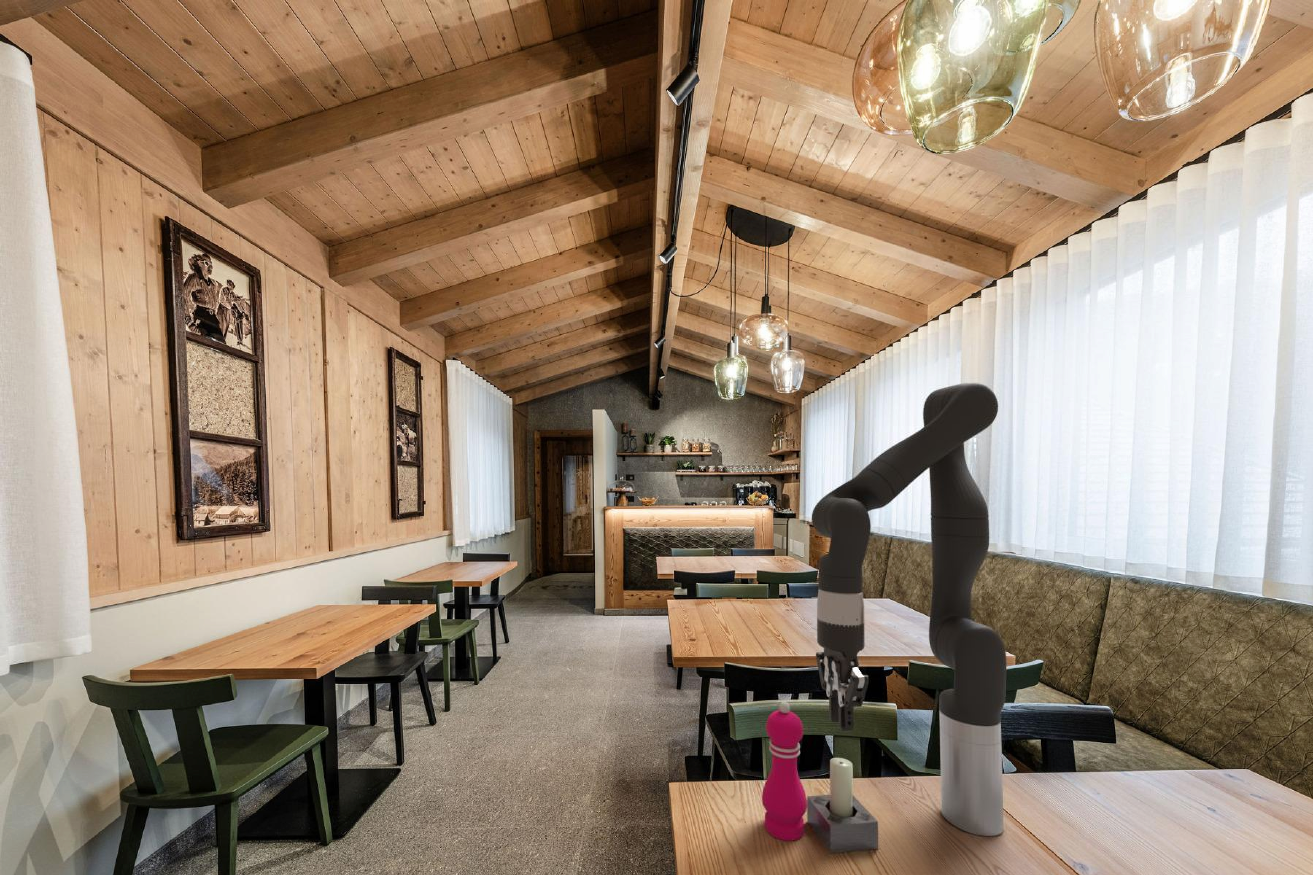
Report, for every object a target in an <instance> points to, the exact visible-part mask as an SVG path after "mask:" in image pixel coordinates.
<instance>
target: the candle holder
mask: <svg viewBox="0 0 1313 875" xmlns="http://www.w3.org/2000/svg"><path fill="white" fill-rule="evenodd" d="M806 799H807V810H806V813H807V815H806V819H807V820H806V822H807V821H808V822H807V823H808V825H809V824H810V825H809V826H810V827H811V829H812V828H813V829H814V830H813V829H812V830H813V832H814V833H815V834H816V836H817V835H818V836H819V837H818V836H817V837H818V838H819V840H820V839H821V840H820V841H821V842H822V844H823V845H824V846H825V848H826V849H827V851H828V853H830V854H839V853H849V852H859V851H868V850H869V851H871V850H878V849H879V821H878V820H877V819H876V818H875V817H874V816H873V814H871V812H870V811H869V810H867V808H866V807H865V806H864V805H863V804H862V803H861V802H860V800H858V799H857V798H856V797H855V795H853V817H847V818H842V817H840V816H837V815H834V814H831V813H830V794H822V795H809V796H808V795H806Z"/></svg>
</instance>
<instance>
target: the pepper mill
mask: <svg viewBox="0 0 1313 875" xmlns="http://www.w3.org/2000/svg"><path fill="white" fill-rule="evenodd" d="M778 706H779V707H778V710H775V711H773V712H771V713H770V714H769V716H768V717H767V719H766V720H767V721H766V724H765V730H766V733H767V735H768V737H769V738H770V739H769V742H768V743H769V747H768V749H769V752H770V753H771V757H772V758H771V760H772V762H771V763H772V764H771V768H770V772H769V774H768V777H767V779H766V781H765V783H764V786H763V789H762V794H761V802H762V805H763V808H764V810H765V813H764V827H765V830H766V831H767V833H769V835H771V836H772V837H774V838H776V839H778V840H782V841H788V842H789V841H796V840H799V839H800V838H802V837H803V836H804V833H805V820H804V815H805V814H806V813H807V795H806V791H805V788H804V786H803V784H802V781H801V779H800V776H799V774H798V773H799V772H798V765H797V764H798V757H799V756H800V754H801V751H800V750H801V749H800V748H801V745H800V743H799V742H800V741H801V740H802V739H803V735H804V726H803V722H802V720H801V719H800V717H799V716H798V715H797V714H795V713H794V712H792V711H791V706H790V704H789V703H788V702H786V701H782V702H781V703H780V704H779V705H778Z"/></svg>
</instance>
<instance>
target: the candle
mask: <svg viewBox="0 0 1313 875" xmlns="http://www.w3.org/2000/svg"><path fill="white" fill-rule="evenodd" d="M853 768H854V765H853V763H852V761H850V760H848V759H846V758H843V757H833V758H831V759H830V760H829V795H830V813H831V814H834V815H837V816H840V817H842V818H847V817H853V796H854V794H853V792H854V791H853V788H854V787H853V782H854V781H853V780H854V779H853V778H854V776H853V775H854V773H853V772H854V771H853V770H854V769H853Z"/></svg>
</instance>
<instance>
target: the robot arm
mask: <svg viewBox="0 0 1313 875" xmlns="http://www.w3.org/2000/svg"><path fill="white" fill-rule="evenodd" d="M998 402H999V401H998V399H997V396H996V394H995V392H994V391H993V390H992V389H991V388H990V387H989V386H988V385H986V384H984V383H981V382H975V381H970V382H963V383H959V384H958V383H957V384H954V385H953V384H952V385H949V386H946V387H942V388H938V389H936V390H934V391H932V392H930V394H929V395H928V396H927V397H926V398H925V401H924V402H923V403H924V404H923V410H922V420H923V427H922V428H921V429H918V430H917V431H915V433H913V434H911V435H910V436H908V437H906V438H904V439H902V440H901V441H899V442H897V443H896V444H893V446H890V447H889V448H887V449H886V450H884V451H883V452H881V453H880V454H879V455H878V456H877V457H876V458H874V459H873V460H872V461H871V462H870V463H869V464H867V465H866V466H865V467H864V468H863V469H862V470H861V471H859V473H858V474H857V475H856V476H855V477H853V478H852V479H849V480H848V481H847V482H845V483H842V484H841V485H839V486H837V487H836V488H835V489H833V490H831V491H830V492H828V493H827V494H826V495H824V496H823V497H822V498H821V499H820V500H819V501H818V502H817V503H816V505H815V506H814V508H813V510H812V513H811V522H812V523H811V524H812V527H813V528H814V529H815V531H816V533H818V534H820V535H821V536H823V537H826V538H830V541H829V543H830V544H829V548H828V552H827V553H825V554H823V555H822V556H820V558H819V561H818V590H817V591H818V593H817V600H816V601H817V602H816V626H817V627H816V642H817V644H818V645H819V646H820V647H822V648H823V651H819V652H818V651H817V652H816V653H815V658H816V665H817V668H818V669H817V670H818V674H819V679H820V680H819V681H820V684H821V688H822V690H825V691H826V693H825V694H826V696H827V697H828V720H830V721H831V722H832V723H838V729H840V731H842V732H843V731H846V732H847V731H852V730H853V729H854V708H856V707H857V708H858V707H859V708H861V707H862V706H863V704H864V700H865V697H866V693H867V690H868V686H869V685H870V684H869V682H870V677H869V675H867V674H862V672H861V671H860V670H859V669H860V663H859V660H858V659H859V658H858V654H859V653H860V652H862V651H863V650H864V649H865V647H866V646H865V638H866V637H865V602H864V596H863V564H864V562H865V558H866V555H867V554H866V553H867V549H868V545H869V542H870V541H869V540H870V537H871V518H870V515H869V512H870V511H872V510H877V509H881V508H885V507H886V506H887V505H889V504H890V503H891V502H892V501H893V500H894V499H896V498H897V497H898V495H900V494H901V493H902V492H903V491H904V490H905V489H906V488H907V487H908V486H909V485H910V484H911V485H912V483H913V482H914V481H915V480H916V479H917V478H918V477H920V476H921V475H922V474H923V473H925V472H926V471H927V470H928V471H929V489H930V490H929V491H930V536H931V561H932V562H931V566H932V568H931V575H932V576H931V577H932V580H931V581H932V584H931V585H932V587H931V601H930V602H931V604H930V614H929V624H928V625H929V626H928V640H929V642H928V643H929V646H930V650H931V652H932V655H933V656H934V657H935V659H936V660H938V662H940V663H941V664H943V665H944V666H946V667H948V668H949V669H952V670H953V671H954V680H953V688H949V689H945V690H943V691H941V692H940V694H939V698H938V701H939V702H938V704H939V705H938V706H939V708H938V709H939V740H940V741H939V746H940V749H939V751H940V755H939V756H940V798H941V799H940V802H941V803H940V804H941V805H940V806H941V808H940V809H941V815H942V816H943V818H945V819H946V821H948V822H949V823H950V824H951V825H953V826H954V827H956V828H958V829H960V830H962V831H965V832H967V833H970V834H973V835H978V836H985V837H986V836H987V837H994V836H998V835H1001V834H1002V833H1003V831H1004V828H1005V827H1004V789H1003V788H1004V786H1003V785H1004V784H1003V757H1002V754H1003V753H1002V749H1003V748H1002V728H1001V724H1002V723H1001V713H1002V710H1003V709H1004V706H1005V703H1006V696H1007V694H1006V693H1007V689H1006V688H1007V652H1006V647H1005V644H1004V641H1003V639H1002V637H1001V636H1000V635H999V633H998V632H997V631H996V630H995V629H993V628H991V627H989V626H987V625H984V624H982V623H979V622H976V621H973V614H972V588H973V585H974V582H975V579H976V577H977V574H978V573H979V571H980V569H981V567H982V566H983V564H984V561H985V560H986V556H987V554H988V552H989V547H990V519H989V517H990V516H989V509H988V505H987V503H986V502H987V501H986V500H985V497H984V496H983V494H982V492H981V490H980V488H979V486H978V485H977V483H976V482H975V480H974V478H973V477H972V476H973V475H971V472H970V470H969V467H968V465H967V461H966V454H965V453H966V452H965V443H966V442H968V441H969V440H970V439H972V438H973V437H975V436H977V435H979V434H980V433H982V432H984V431H985V430H986V429H988V428H989V427H990V426H991V425H992V424H993V423H994V421H995V420H996V417H997V416H998V412H999V403H998ZM845 692H846V694H845Z"/></svg>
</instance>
